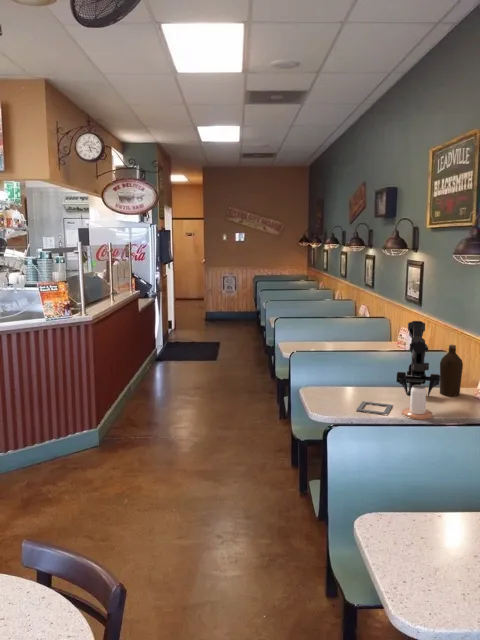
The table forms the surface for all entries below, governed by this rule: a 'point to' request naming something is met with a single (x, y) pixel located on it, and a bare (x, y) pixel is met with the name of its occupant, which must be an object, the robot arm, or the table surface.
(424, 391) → the can
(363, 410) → the gray square frame
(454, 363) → the olive oil
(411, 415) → the plate
